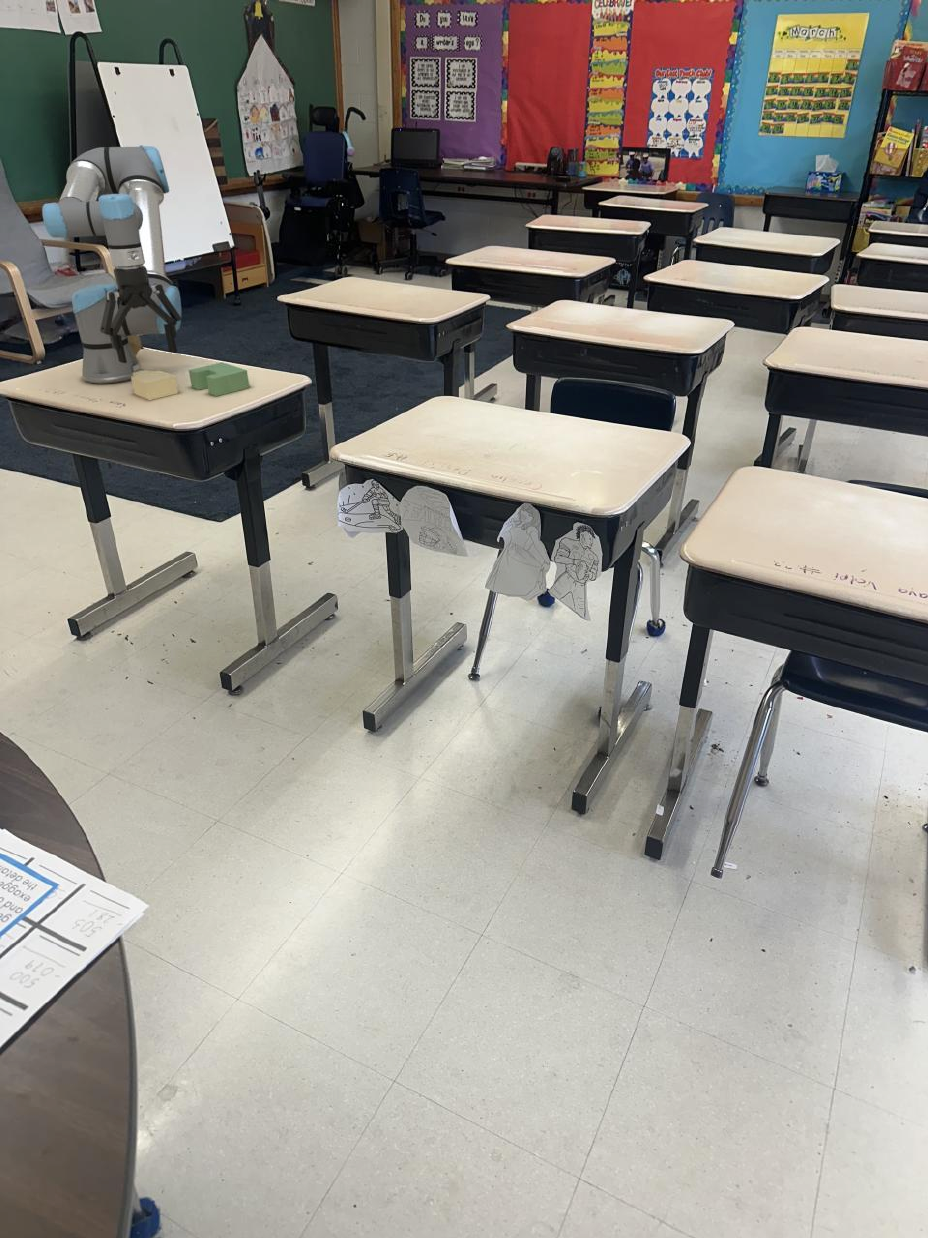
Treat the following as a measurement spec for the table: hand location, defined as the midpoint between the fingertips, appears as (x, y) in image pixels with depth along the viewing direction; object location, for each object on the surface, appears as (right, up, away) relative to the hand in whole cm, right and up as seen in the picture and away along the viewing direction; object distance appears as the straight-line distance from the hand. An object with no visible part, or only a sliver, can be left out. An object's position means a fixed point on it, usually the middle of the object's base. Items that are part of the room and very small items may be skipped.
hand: (148, 356), depth 215 cm
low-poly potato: (-20, +9, +34) cm, 41 cm away
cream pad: (-1, -7, +6) cm, 10 cm away
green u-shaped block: (+16, -5, +9) cm, 19 cm away
